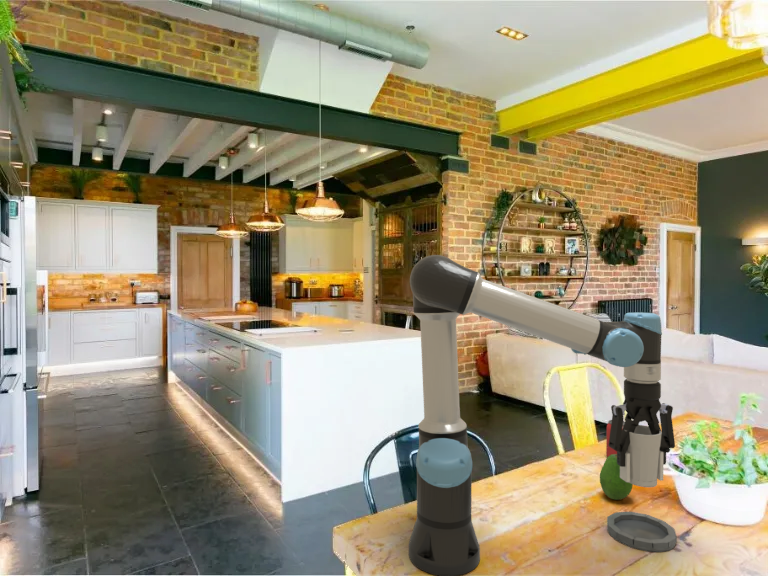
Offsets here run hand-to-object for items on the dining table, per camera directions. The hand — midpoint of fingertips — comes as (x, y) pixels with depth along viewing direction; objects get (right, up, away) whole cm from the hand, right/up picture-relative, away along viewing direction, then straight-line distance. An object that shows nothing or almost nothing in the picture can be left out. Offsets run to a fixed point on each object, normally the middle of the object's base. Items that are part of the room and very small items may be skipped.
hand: (641, 478), depth 113 cm
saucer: (0, -13, 0) cm, 13 cm away
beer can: (+17, -12, +47) cm, 52 cm away
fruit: (+3, -13, +19) cm, 23 cm away
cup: (0, -1, 0) cm, 1 cm away
